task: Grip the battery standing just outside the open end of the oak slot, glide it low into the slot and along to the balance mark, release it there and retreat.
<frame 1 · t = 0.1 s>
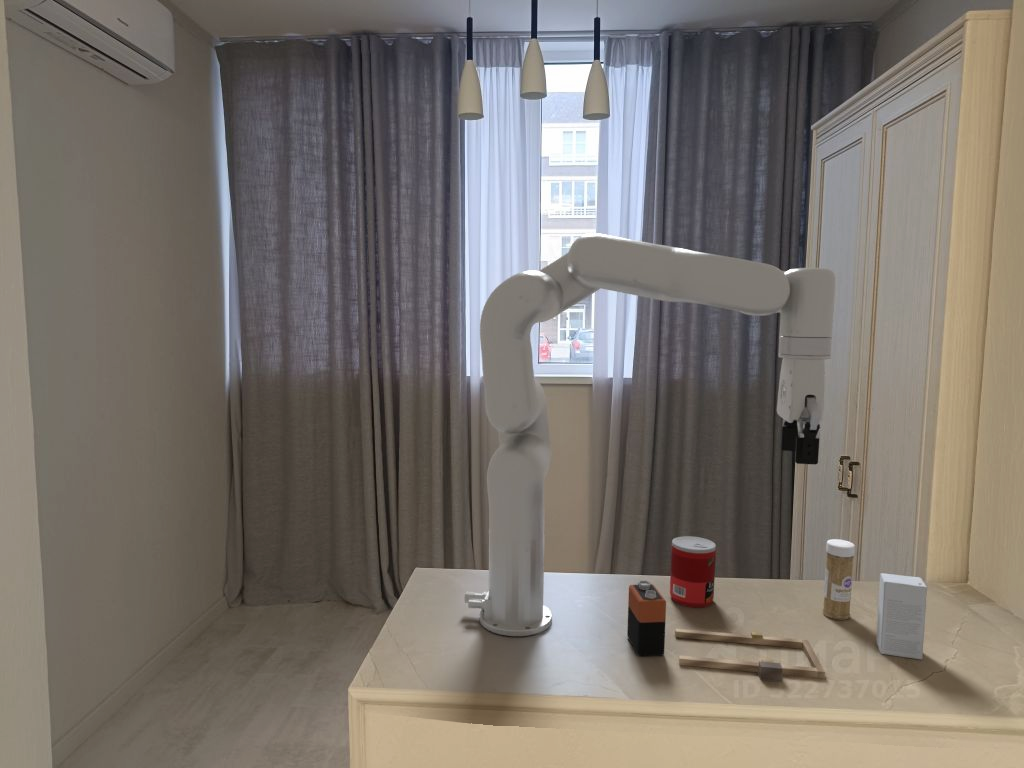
hand: (798, 456, 109), 31 cm above the worktop, tool pointing down, fingers open, 9 cm apart
battery: (645, 647, 111), on the worktop
canned food: (691, 600, 129), on the worktop
sprinkles bottle: (835, 616, 123), on the worktop
skincare box: (897, 652, 110), on the worktop
track: (741, 654, 108), on the worktop
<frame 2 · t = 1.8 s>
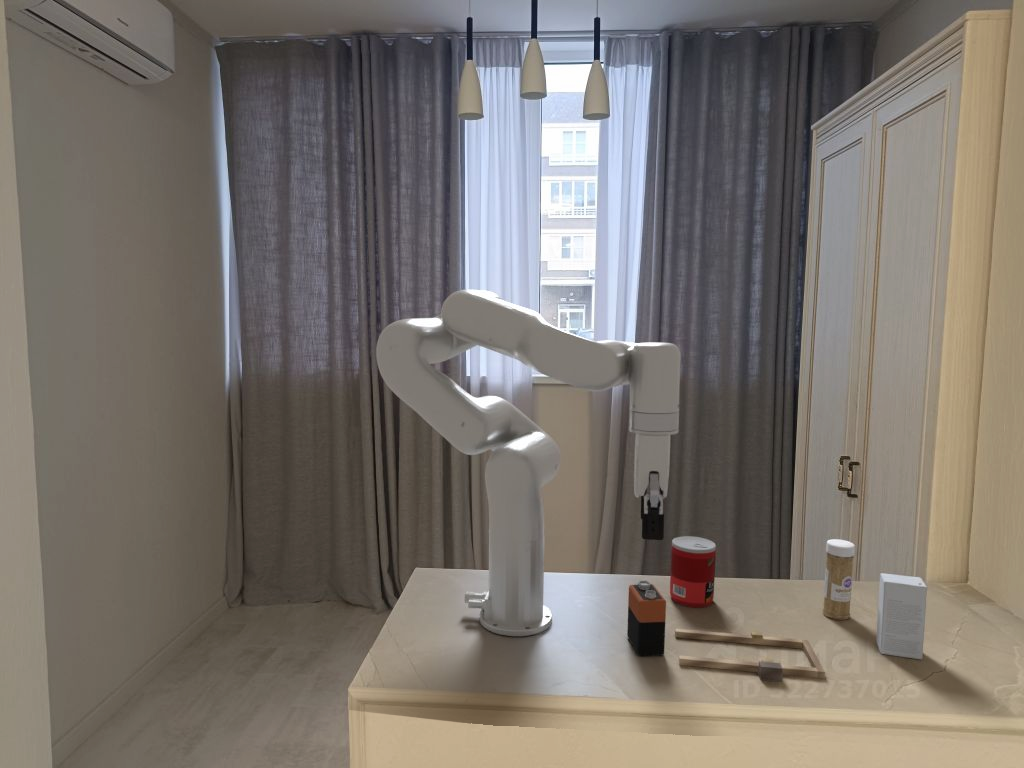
hand: (651, 529, 109), 20 cm above the worktop, tool pointing down, fingers open, 9 cm apart
nothing on the worktop moved.
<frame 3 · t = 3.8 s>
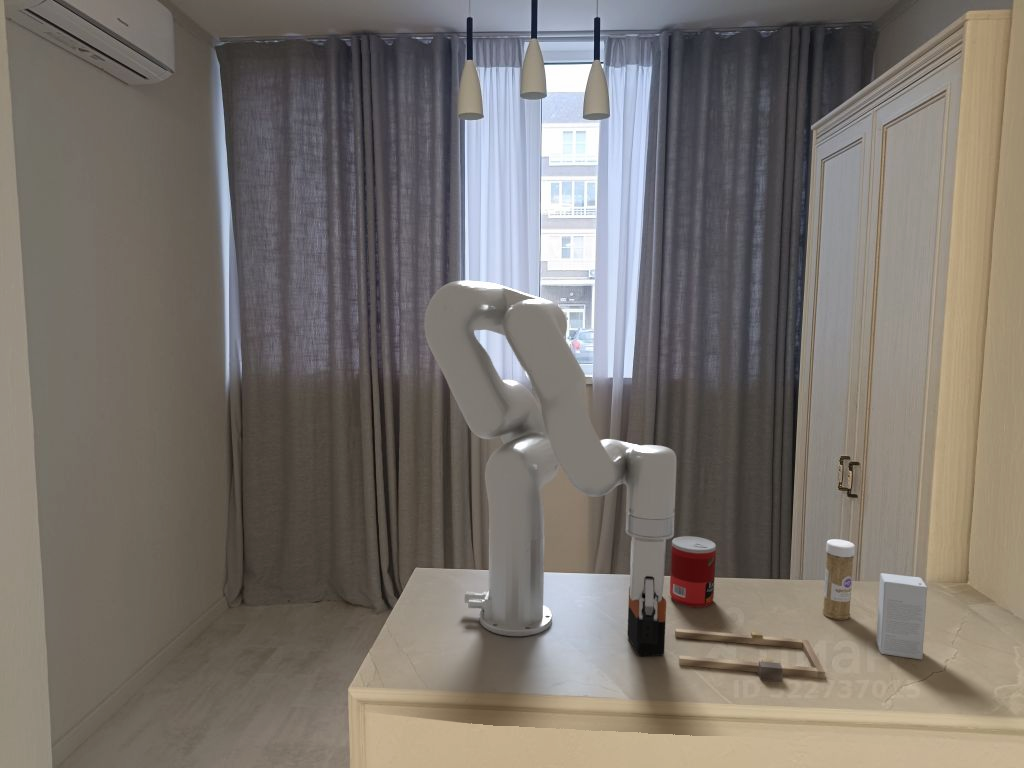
hand: (646, 629, 111), 3 cm above the worktop, tool pointing down, fingers closed on battery, 7 cm apart
battery: (645, 647, 111), on the worktop, touching gripper
everything else where it was.
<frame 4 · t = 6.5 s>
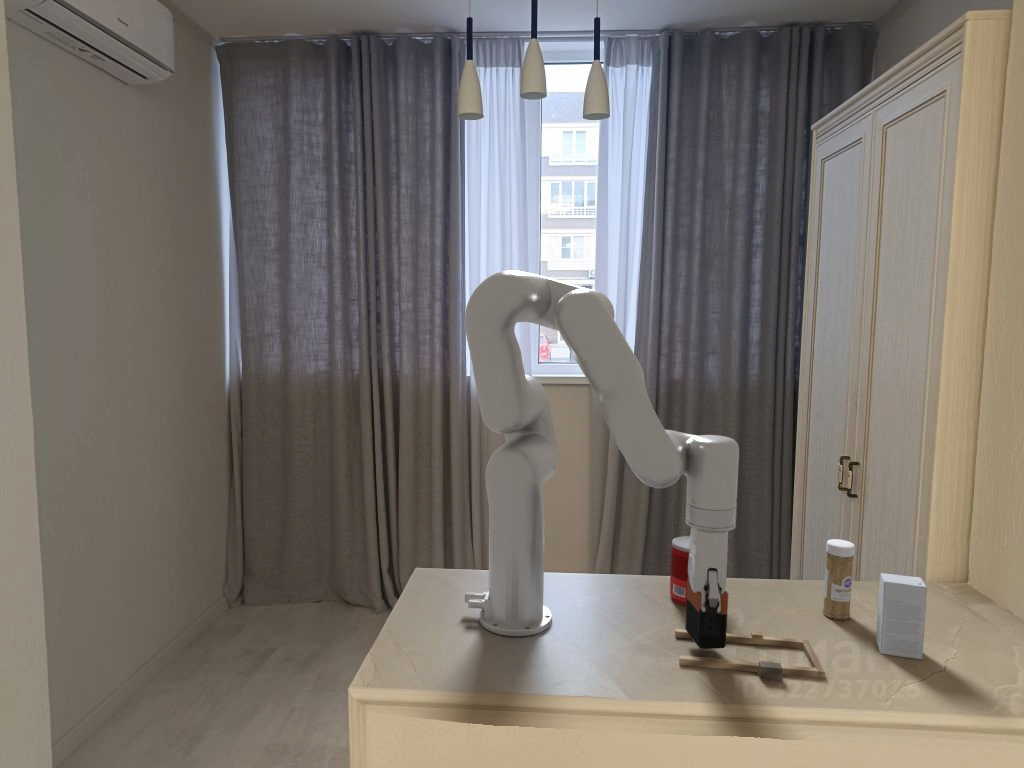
hand: (706, 622, 109), 5 cm above the worktop, tool pointing down, fingers closed on battery, 7 cm apart
battery: (704, 640, 109), point 2 cm above the worktop, touching gripper
everything else where it was.
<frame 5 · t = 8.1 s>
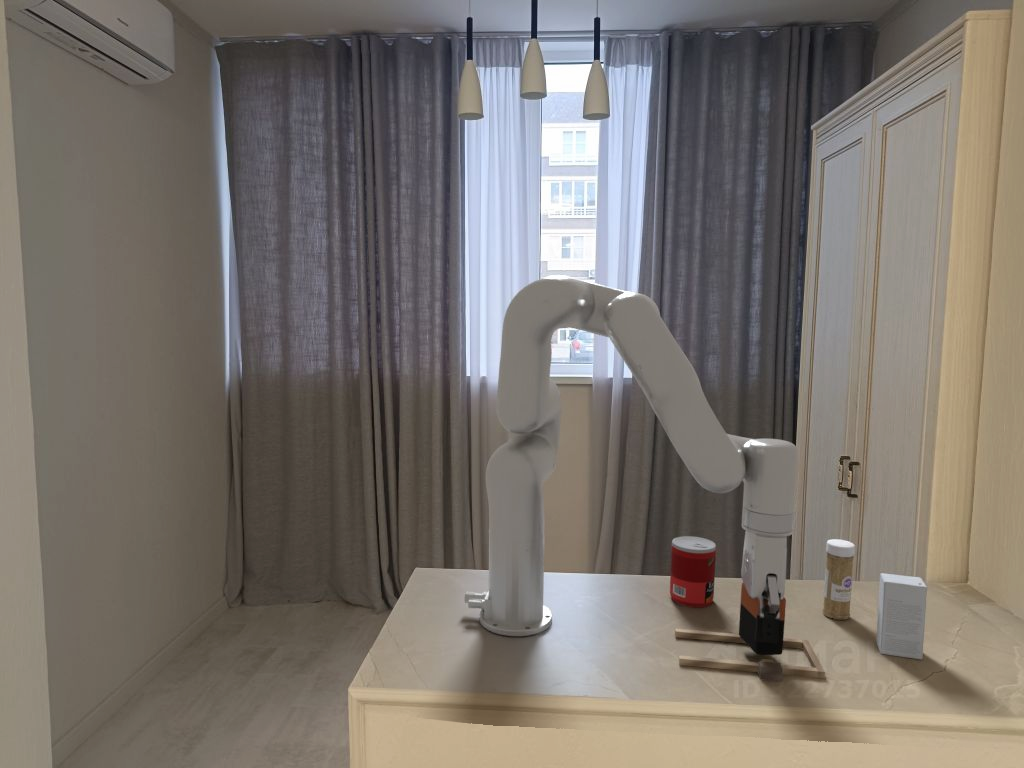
hand: (761, 628, 107), 5 cm above the worktop, tool pointing down, fingers closed on battery, 7 cm apart
battery: (759, 646, 108), point 2 cm above the worktop, touching gripper
everything else where it was.
when the fingers open (3 cm above the worktop, at t = 9.4 s): battery stays where it is, resting in track.
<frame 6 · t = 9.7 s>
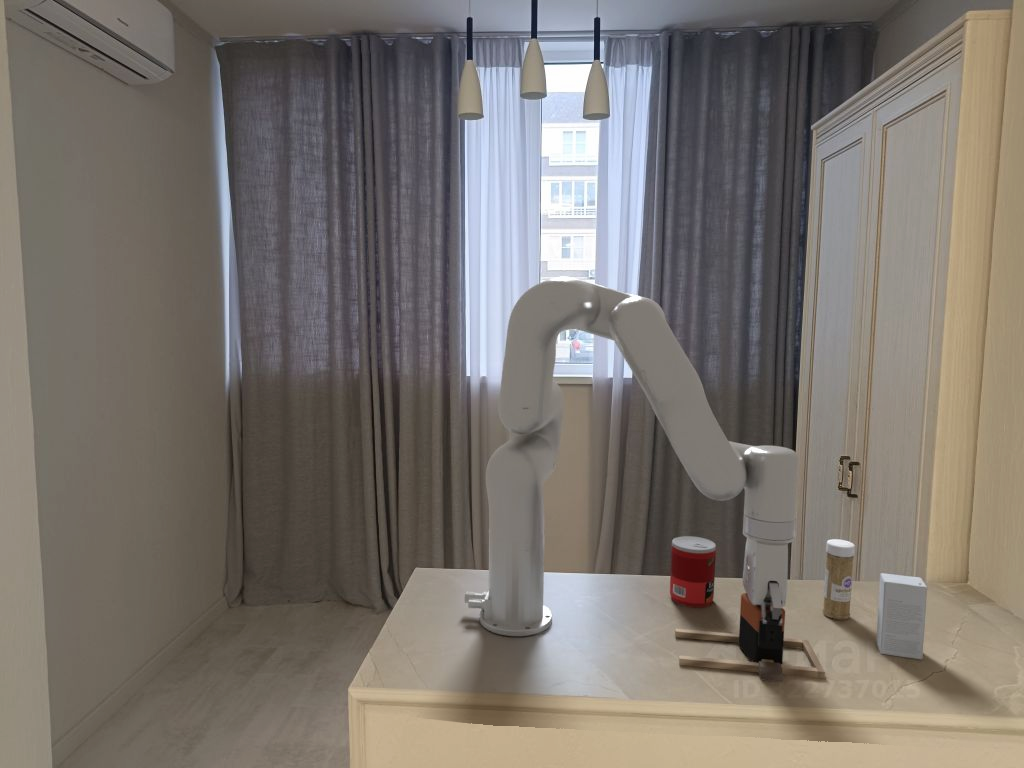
hand: (763, 632, 108), 4 cm above the worktop, tool pointing down, fingers open, 9 cm apart
battery: (759, 657, 108), resting in track
everything else where it was.
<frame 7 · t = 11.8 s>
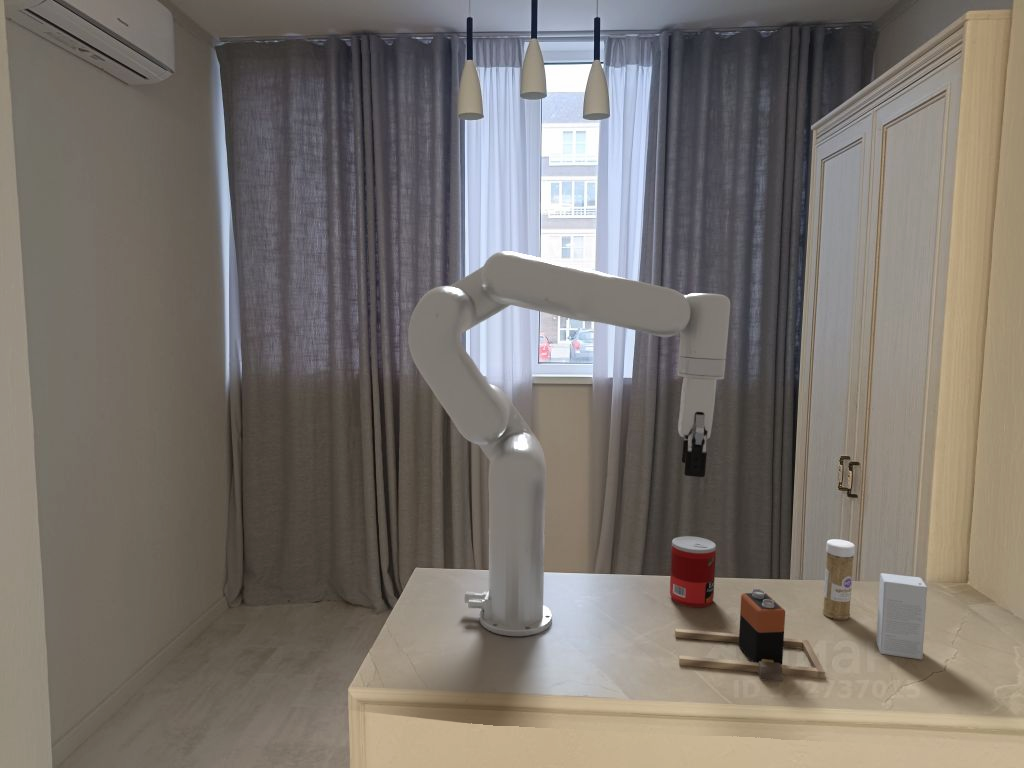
hand: (692, 469, 116), 27 cm above the worktop, tool pointing down, fingers open, 9 cm apart
nothing on the worktop moved.
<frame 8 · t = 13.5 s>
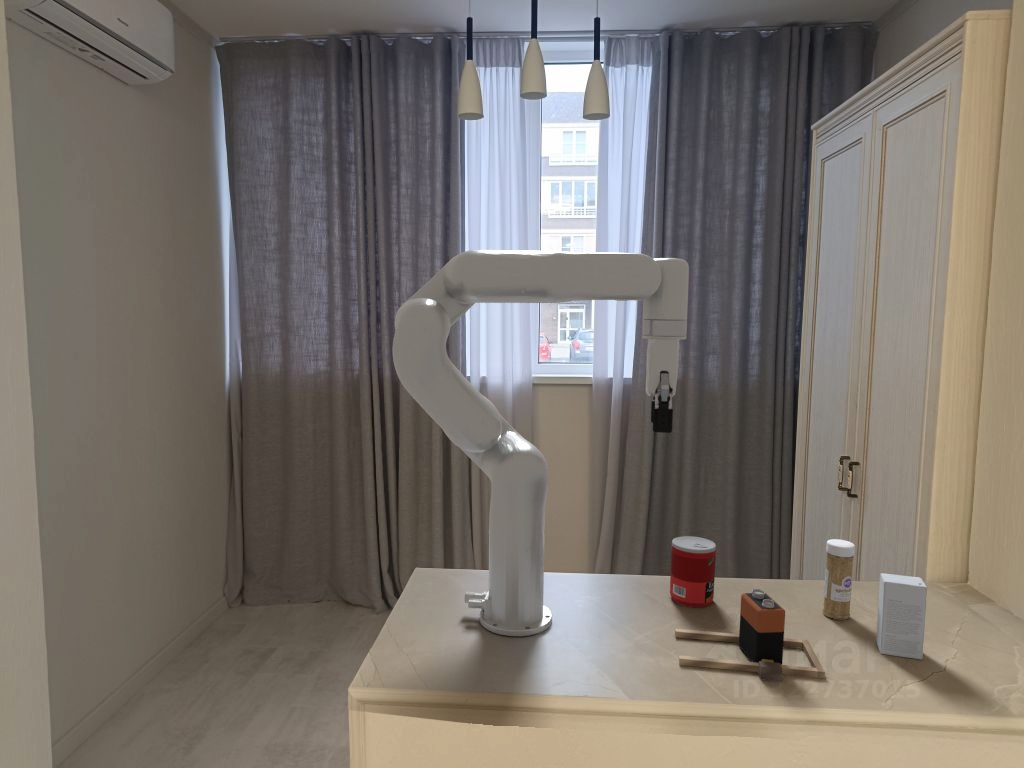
hand: (660, 427, 122), 33 cm above the worktop, tool pointing down, fingers open, 9 cm apart
nothing on the worktop moved.
at the end: battery 0.3 cm from the target spot, resting in track; battery tilted 0°; the gripper is holding nothing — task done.
